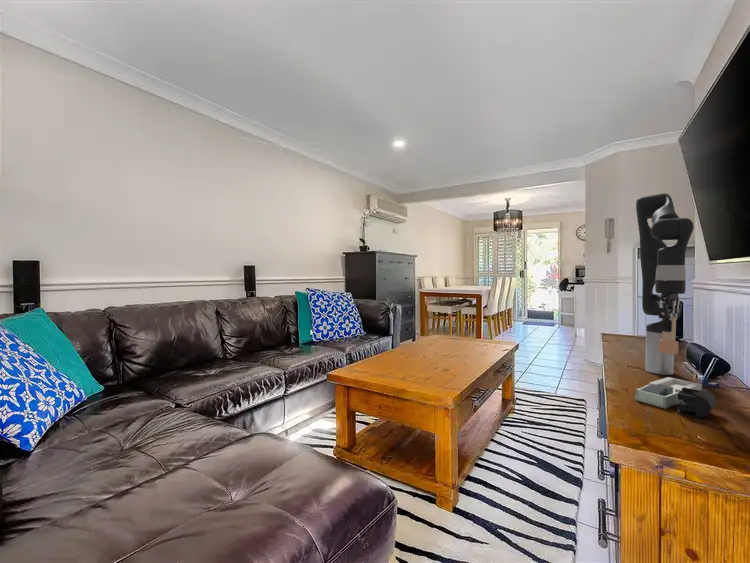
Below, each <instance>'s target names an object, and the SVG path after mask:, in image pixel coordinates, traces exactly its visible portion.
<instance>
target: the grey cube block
mask: <svg viewBox="0 0 750 563" xmlns="http://www.w3.org/2000/svg"><path fill="white" fill-rule="evenodd" d="M653 386H657V387H661V388H665V396H667V395H670V394H672V393H673V388H674V387H670V386H666V385H661V384H656V385H653Z"/></svg>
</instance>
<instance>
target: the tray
mask: <svg viewBox="0 0 750 563" xmlns="http://www.w3.org/2000/svg"><path fill="white" fill-rule="evenodd" d="M644 386H645V387H646V385H644ZM644 386H642V387H640V388H636V389H635V391H634V392H635V394H634V395H635V398H634V400H635V402H636V401H638V402H641V403H644V404H647V405H651V406H654V407H658V408H663V409H668V408H670V407H673V406H675V405H676V406H677V403H679V404H681V403H680V400H679V399H677V398H678V392H679V391H678V392H675V393H672V394H670V395H667V396H661V395H657V394H653V393H649V392H645V387H644ZM652 386H653V385H652Z"/></svg>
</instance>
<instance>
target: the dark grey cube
mask: <svg viewBox="0 0 750 563" xmlns="http://www.w3.org/2000/svg"><path fill="white" fill-rule="evenodd" d="M648 385H649V384H648ZM645 386H646V385H645ZM645 392H649V393H653V394H657V395H661V396H665V388H661V387H657V386H652V385H649V386H646V387H645Z"/></svg>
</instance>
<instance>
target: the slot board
mask: <svg viewBox="0 0 750 563" xmlns="http://www.w3.org/2000/svg"><path fill="white" fill-rule="evenodd" d="M656 384H661V385H666V386H670V387H674V388H673V393H675V392H678V391H682V388H689V389H694V390H699V391H700V390H701V389H703V384H702V383H698V382H693V381H688V380H684V379H679V378H674V377H671V376H670V377H669V376H667V377H664V378H661V379H657V380H653V381H650V382H648V384H647V385H643V387H645V386H649V385H656ZM705 390H707V389H706V388H705ZM682 402H683V400H680V403H679V404H681V403H682Z"/></svg>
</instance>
